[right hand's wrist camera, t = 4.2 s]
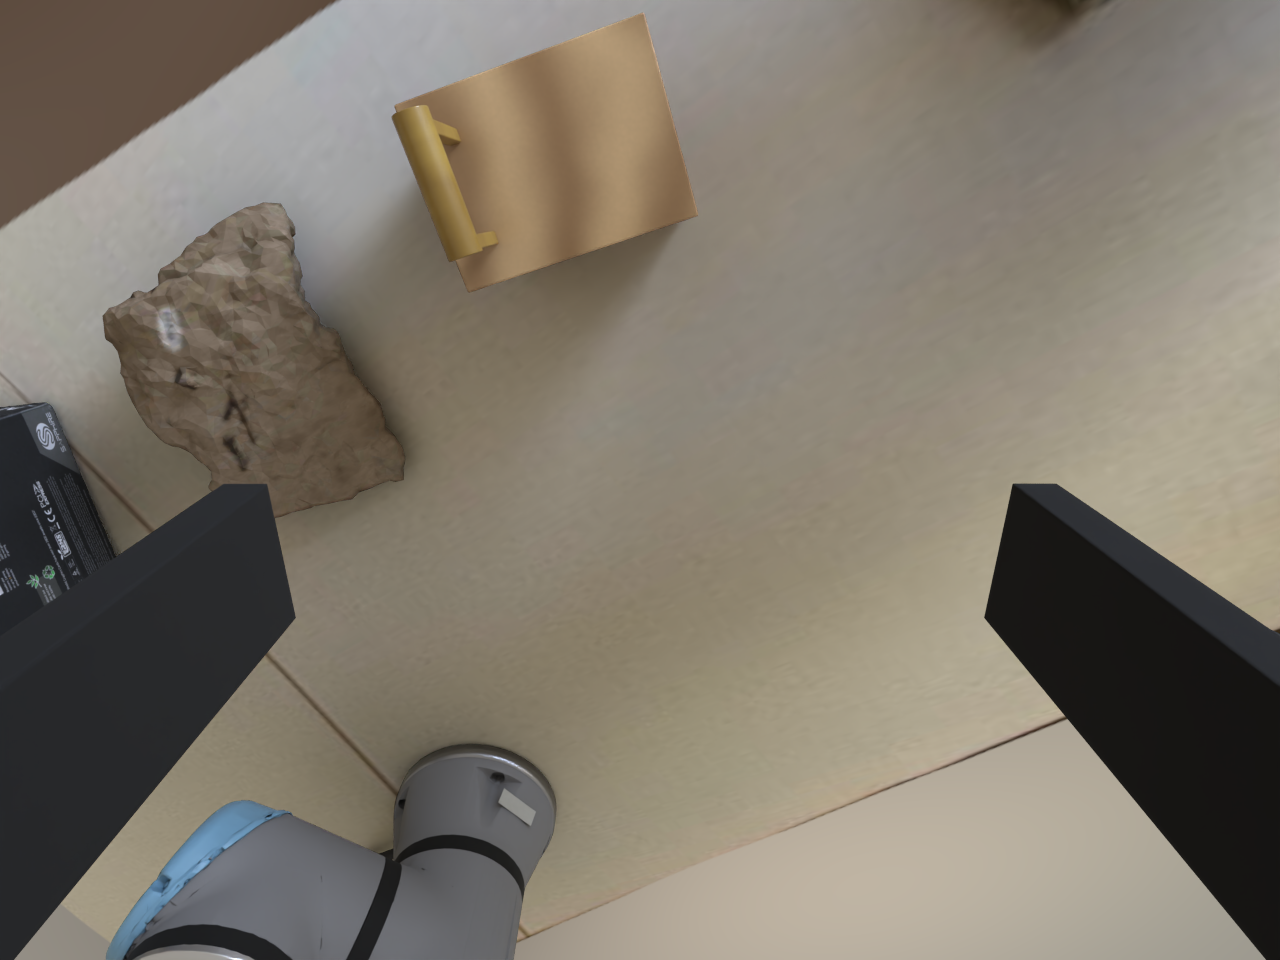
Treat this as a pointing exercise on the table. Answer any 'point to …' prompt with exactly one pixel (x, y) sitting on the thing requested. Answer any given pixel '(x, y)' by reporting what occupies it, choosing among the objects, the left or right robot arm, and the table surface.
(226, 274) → the stone
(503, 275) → the lid
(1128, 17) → the table surface
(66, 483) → the graphics card box
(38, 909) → the right robot arm
